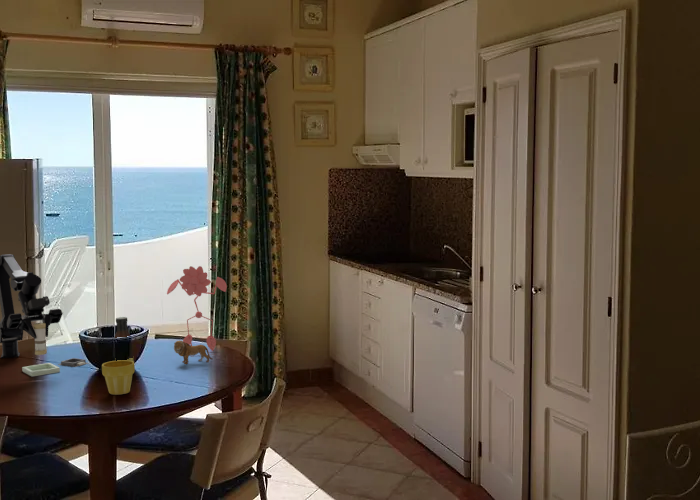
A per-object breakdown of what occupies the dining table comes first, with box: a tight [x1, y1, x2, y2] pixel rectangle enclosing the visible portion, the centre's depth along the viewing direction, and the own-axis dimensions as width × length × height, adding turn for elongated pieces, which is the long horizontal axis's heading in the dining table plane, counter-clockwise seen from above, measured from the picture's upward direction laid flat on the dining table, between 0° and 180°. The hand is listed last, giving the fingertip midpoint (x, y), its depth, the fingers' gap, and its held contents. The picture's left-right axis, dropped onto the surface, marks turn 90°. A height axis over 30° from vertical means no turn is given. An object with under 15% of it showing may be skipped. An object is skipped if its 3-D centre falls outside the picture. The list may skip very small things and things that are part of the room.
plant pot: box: [101, 360, 136, 396], centre depth 267 cm, size 10×10×10 cm
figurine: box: [166, 265, 228, 355], centre depth 324 cm, size 15×26×35 cm, turn 80°
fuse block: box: [57, 357, 89, 368], centre depth 305 cm, size 9×7×2 cm
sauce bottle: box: [113, 316, 135, 363], centre depth 294 cm, size 7×6×20 cm
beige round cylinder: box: [33, 322, 48, 356], centre depth 292 cm, size 4×4×11 cm
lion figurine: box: [173, 340, 213, 365], centre depth 308 cm, size 15×5×9 cm, turn 114°
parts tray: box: [21, 362, 61, 377], centre depth 293 cm, size 10×10×2 cm
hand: (41, 337), depth 291 cm, fingers closed on beige round cylinder, 4 cm apart
